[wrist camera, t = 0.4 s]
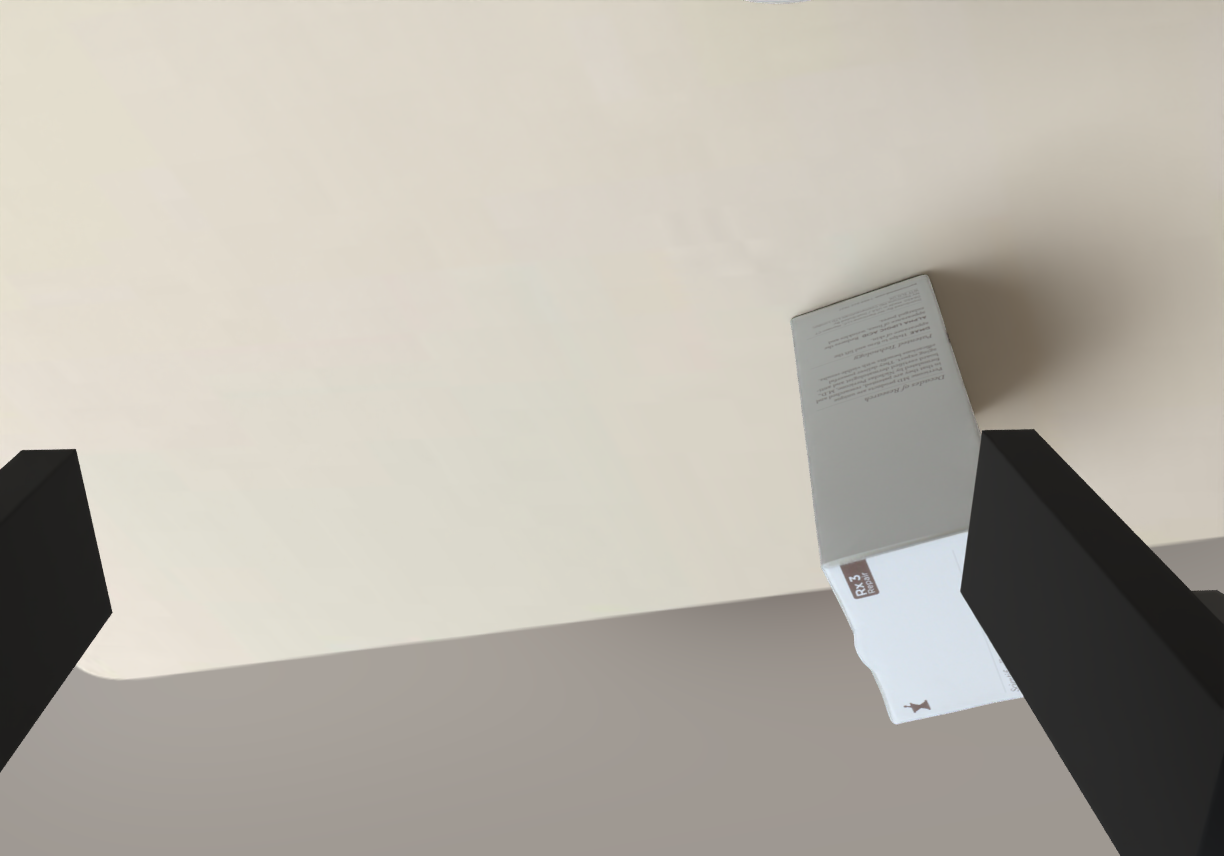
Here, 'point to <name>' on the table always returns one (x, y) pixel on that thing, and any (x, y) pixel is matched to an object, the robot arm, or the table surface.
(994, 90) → the table surface
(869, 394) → the cosmetic box
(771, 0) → the pill bottle
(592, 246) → the table surface
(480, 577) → the table surface
